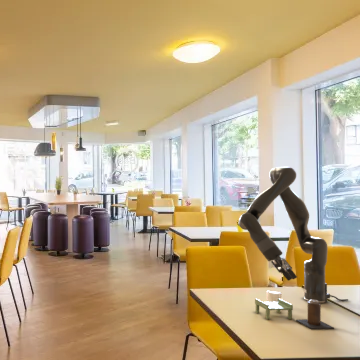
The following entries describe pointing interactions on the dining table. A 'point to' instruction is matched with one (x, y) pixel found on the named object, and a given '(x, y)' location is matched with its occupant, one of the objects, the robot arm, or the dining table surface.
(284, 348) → the dining table surface
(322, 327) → the mat
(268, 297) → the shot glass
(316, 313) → the brown bottle
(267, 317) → the tray
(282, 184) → the robot arm
